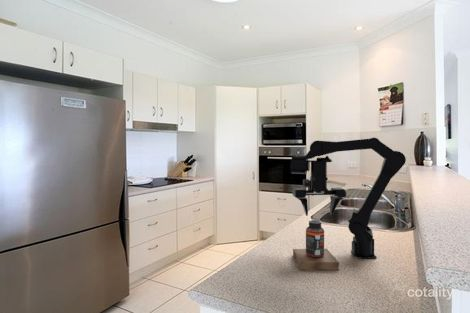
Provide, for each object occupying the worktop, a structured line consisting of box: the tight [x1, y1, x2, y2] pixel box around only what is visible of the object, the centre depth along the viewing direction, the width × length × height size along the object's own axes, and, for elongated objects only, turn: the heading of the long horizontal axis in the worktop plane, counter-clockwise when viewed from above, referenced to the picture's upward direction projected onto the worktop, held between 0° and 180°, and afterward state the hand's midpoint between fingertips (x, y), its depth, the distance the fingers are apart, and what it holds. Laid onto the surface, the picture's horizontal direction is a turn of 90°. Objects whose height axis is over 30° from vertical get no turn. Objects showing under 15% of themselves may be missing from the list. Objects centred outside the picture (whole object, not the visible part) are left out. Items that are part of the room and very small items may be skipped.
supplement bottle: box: [305, 219, 325, 258], centre depth 94 cm, size 6×6×11 cm
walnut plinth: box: [292, 248, 340, 271], centre depth 95 cm, size 12×12×2 cm
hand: (318, 215), depth 106 cm, fingers open, 9 cm apart
